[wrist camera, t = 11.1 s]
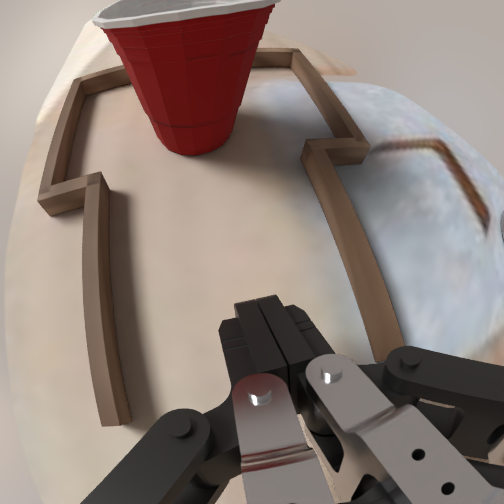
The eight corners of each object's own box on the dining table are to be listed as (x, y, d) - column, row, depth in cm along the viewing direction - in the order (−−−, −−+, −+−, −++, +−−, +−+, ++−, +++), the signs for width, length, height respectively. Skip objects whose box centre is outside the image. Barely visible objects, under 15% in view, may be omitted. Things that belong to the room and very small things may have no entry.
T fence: (295, 62, 27) (298, 48, 26) (433, 335, 16) (452, 328, 14) (79, 93, 23) (74, 79, 21) (58, 422, 12) (41, 425, 10)
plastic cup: (194, 80, 24) (192, -30, 14) (287, 126, 22) (319, -8, 11) (102, 141, 20) (61, 14, 9) (193, 209, 18) (172, 26, 7)
